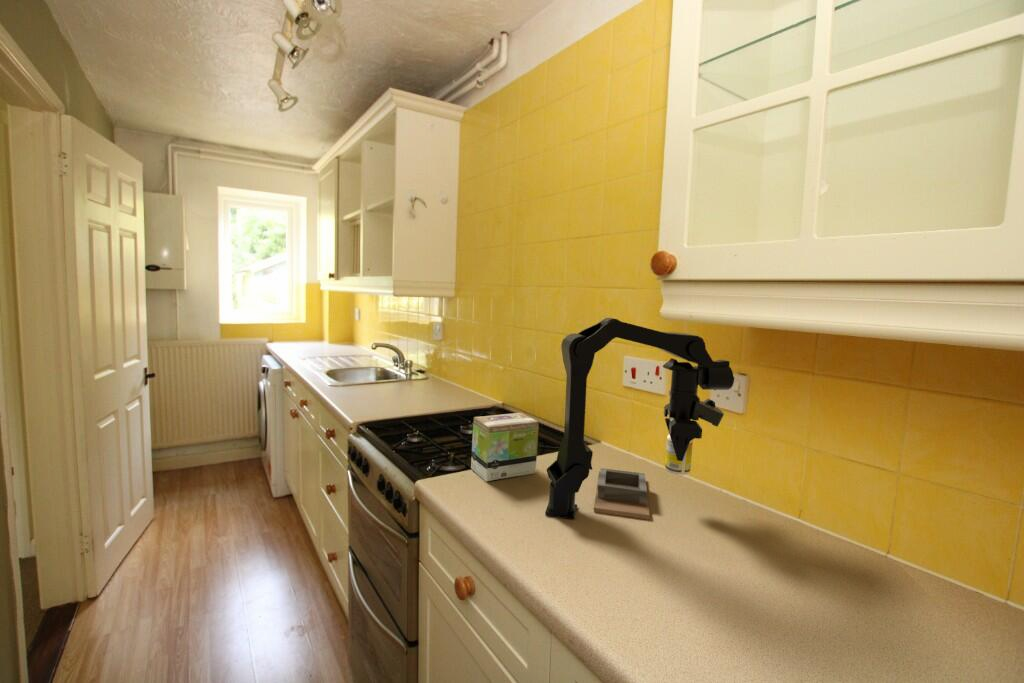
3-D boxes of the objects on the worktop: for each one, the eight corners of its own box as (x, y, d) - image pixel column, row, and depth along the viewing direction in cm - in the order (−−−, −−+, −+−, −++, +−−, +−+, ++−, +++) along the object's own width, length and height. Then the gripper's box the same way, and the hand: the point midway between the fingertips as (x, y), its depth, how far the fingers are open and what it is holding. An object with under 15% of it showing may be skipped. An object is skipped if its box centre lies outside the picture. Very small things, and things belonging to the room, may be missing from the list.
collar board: (649, 519, 102) (650, 502, 102) (593, 511, 105) (594, 494, 105) (644, 480, 124) (645, 465, 123) (598, 474, 126) (599, 460, 126)
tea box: (486, 483, 118) (488, 426, 117) (470, 469, 127) (471, 416, 125) (537, 473, 126) (539, 420, 124) (518, 461, 134) (520, 410, 133)
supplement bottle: (685, 466, 111) (688, 424, 109) (693, 476, 105) (697, 432, 104) (661, 465, 111) (664, 423, 109) (669, 475, 105) (672, 431, 104)
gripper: (731, 402, 95) (724, 476, 97) (714, 384, 113) (708, 447, 115) (673, 397, 97) (668, 469, 99) (666, 380, 115) (661, 442, 117)
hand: (678, 456), depth 107 cm, fingers closed on supplement bottle, 6 cm apart
